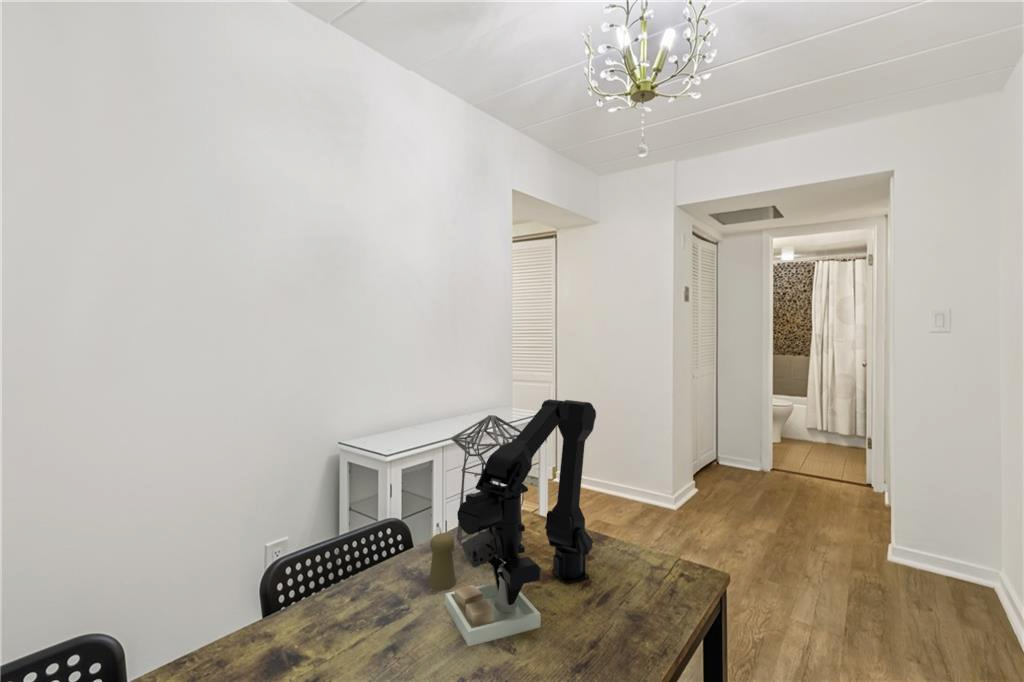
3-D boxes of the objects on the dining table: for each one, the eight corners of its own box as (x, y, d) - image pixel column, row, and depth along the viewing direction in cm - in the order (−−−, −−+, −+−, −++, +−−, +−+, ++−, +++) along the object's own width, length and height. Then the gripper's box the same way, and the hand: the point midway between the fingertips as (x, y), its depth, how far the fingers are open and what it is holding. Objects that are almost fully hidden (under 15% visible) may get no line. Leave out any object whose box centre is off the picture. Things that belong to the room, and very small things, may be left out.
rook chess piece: (520, 603, 98) (520, 562, 98) (512, 615, 94) (512, 573, 93) (498, 599, 99) (499, 559, 99) (490, 610, 95) (490, 569, 95)
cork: (450, 594, 104) (451, 542, 104) (423, 591, 105) (424, 539, 105) (459, 580, 110) (460, 531, 110) (433, 577, 111) (434, 529, 111)
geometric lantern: (445, 563, 118) (446, 416, 119) (481, 541, 132) (482, 409, 132) (502, 579, 110) (503, 421, 111) (534, 554, 124) (535, 414, 125)
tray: (509, 594, 104) (509, 579, 104) (540, 630, 92) (540, 613, 92) (445, 608, 99) (445, 593, 99) (468, 649, 86) (468, 632, 86)
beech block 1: (472, 604, 99) (472, 584, 99) (482, 613, 96) (482, 593, 96) (454, 610, 97) (454, 590, 97) (464, 620, 94) (464, 599, 94)
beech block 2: (485, 620, 94) (485, 599, 94) (493, 632, 90) (493, 610, 90) (465, 625, 92) (465, 604, 92) (472, 637, 88) (472, 615, 88)
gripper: (451, 508, 101) (451, 584, 102) (484, 544, 84) (484, 635, 85) (501, 501, 106) (501, 574, 106) (542, 533, 89) (542, 620, 89)
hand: (505, 598), depth 96 cm, fingers closed on rook chess piece, 4 cm apart
